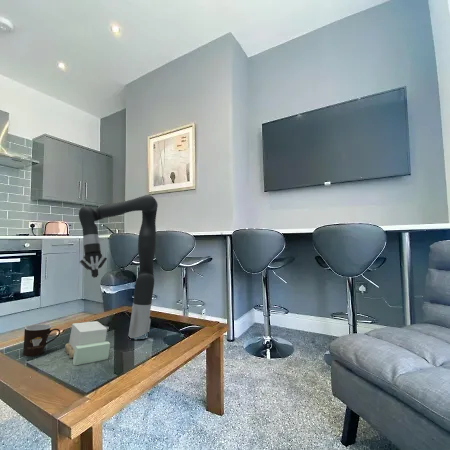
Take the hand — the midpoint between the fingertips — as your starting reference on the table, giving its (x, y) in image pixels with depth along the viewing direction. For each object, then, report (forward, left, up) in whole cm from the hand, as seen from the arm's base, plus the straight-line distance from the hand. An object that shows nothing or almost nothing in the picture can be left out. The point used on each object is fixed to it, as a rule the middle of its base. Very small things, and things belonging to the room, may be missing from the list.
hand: (95, 277), depth 126 cm
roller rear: (+6, +15, -26) cm, 31 cm away
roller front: (+6, +22, -27) cm, 35 cm away
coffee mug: (+21, +12, -29) cm, 38 cm away
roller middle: (+6, +17, -27) cm, 32 cm away
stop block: (+6, +29, -29) cm, 42 cm away
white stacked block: (+6, +21, -26) cm, 34 cm away
